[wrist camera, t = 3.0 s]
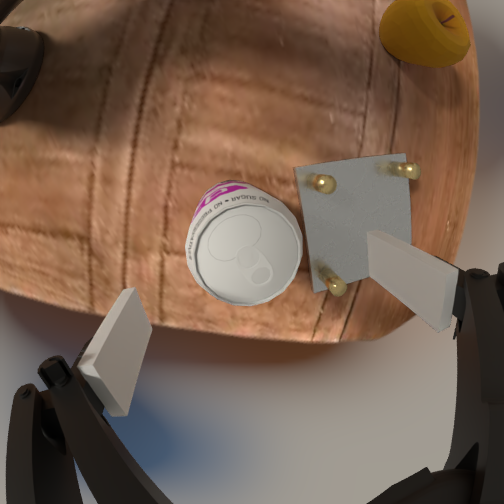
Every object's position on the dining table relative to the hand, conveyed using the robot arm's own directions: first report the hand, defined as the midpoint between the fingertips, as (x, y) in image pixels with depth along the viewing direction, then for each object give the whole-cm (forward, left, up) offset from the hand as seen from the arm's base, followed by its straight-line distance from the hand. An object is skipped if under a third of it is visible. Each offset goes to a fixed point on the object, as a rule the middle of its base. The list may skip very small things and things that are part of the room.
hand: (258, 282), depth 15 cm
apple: (+28, +21, -19) cm, 40 cm away
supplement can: (0, 0, -19) cm, 19 cm away
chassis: (+16, -4, -18) cm, 25 cm away
